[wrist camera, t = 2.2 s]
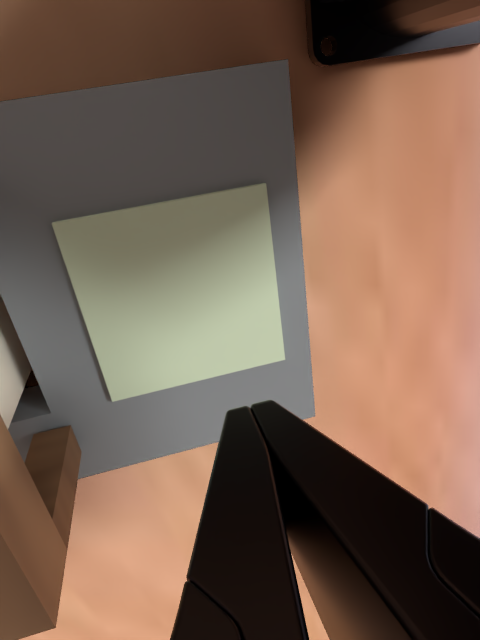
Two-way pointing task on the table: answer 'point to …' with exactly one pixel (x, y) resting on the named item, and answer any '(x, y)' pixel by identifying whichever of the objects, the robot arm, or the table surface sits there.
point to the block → (11, 366)
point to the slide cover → (35, 528)
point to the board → (154, 260)
